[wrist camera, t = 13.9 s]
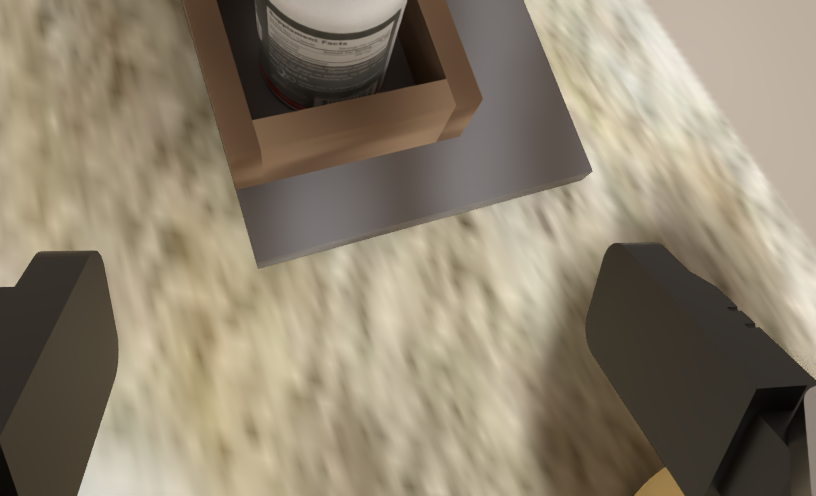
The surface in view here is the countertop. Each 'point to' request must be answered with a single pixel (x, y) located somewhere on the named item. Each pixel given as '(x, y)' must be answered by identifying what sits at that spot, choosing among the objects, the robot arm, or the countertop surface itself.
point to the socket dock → (389, 127)
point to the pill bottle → (326, 48)
